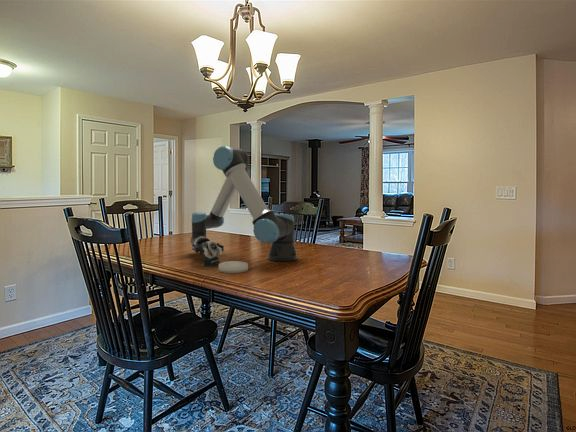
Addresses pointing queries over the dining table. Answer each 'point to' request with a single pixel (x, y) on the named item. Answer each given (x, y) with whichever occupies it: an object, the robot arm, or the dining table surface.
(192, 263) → the dining table surface
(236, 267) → the display plinth
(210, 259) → the watch
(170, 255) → the dining table surface
